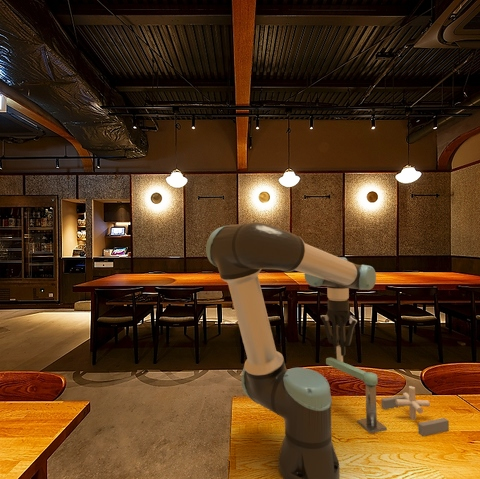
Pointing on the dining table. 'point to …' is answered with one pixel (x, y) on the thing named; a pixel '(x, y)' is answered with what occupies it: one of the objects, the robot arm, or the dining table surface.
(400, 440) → the dining table surface
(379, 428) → the pivot post
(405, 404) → the pipe connector
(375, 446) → the dining table surface
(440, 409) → the dining table surface
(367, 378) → the grey-green bar
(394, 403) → the rails
